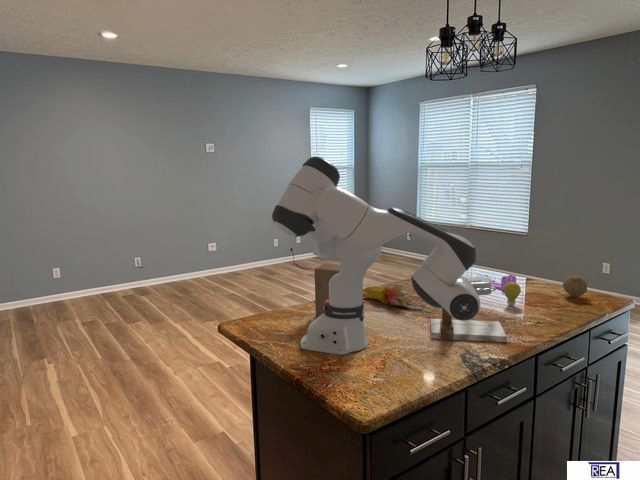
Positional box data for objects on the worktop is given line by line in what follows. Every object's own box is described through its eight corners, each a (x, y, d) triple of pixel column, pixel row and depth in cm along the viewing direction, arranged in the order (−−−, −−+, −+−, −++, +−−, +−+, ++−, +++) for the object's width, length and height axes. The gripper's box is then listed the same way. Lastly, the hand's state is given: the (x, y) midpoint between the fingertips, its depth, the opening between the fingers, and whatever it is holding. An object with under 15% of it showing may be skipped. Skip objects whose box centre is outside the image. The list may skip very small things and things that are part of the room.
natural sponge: (556, 295, 195) (558, 273, 193) (571, 293, 198) (572, 271, 197) (575, 301, 187) (577, 278, 185) (590, 298, 190) (592, 275, 188)
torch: (369, 304, 203) (413, 309, 184) (357, 299, 198) (401, 304, 179) (373, 286, 205) (417, 290, 186) (362, 281, 200) (406, 284, 181)
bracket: (515, 290, 206) (516, 275, 205) (507, 292, 203) (508, 277, 202) (491, 284, 217) (492, 270, 216) (484, 285, 214) (484, 271, 213)
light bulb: (523, 306, 182) (525, 282, 180) (511, 308, 180) (512, 284, 178) (511, 302, 188) (512, 279, 187) (498, 304, 186) (499, 281, 184)
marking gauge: (440, 338, 150) (441, 300, 148) (439, 326, 161) (440, 290, 159) (453, 339, 149) (454, 301, 147) (450, 326, 161) (451, 291, 158)
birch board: (431, 338, 153) (431, 332, 152) (430, 323, 166) (430, 318, 166) (506, 342, 147) (506, 336, 147) (499, 326, 161) (499, 321, 161)
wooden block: (315, 318, 176) (313, 268, 172) (325, 310, 185) (324, 263, 181) (338, 321, 171) (337, 270, 168) (348, 313, 180) (347, 264, 177)
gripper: (496, 279, 121) (487, 269, 134) (419, 282, 125) (418, 272, 138) (497, 301, 122) (488, 289, 135) (420, 304, 126) (419, 292, 139)
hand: (452, 281), depth 137 cm, fingers open, 8 cm apart
